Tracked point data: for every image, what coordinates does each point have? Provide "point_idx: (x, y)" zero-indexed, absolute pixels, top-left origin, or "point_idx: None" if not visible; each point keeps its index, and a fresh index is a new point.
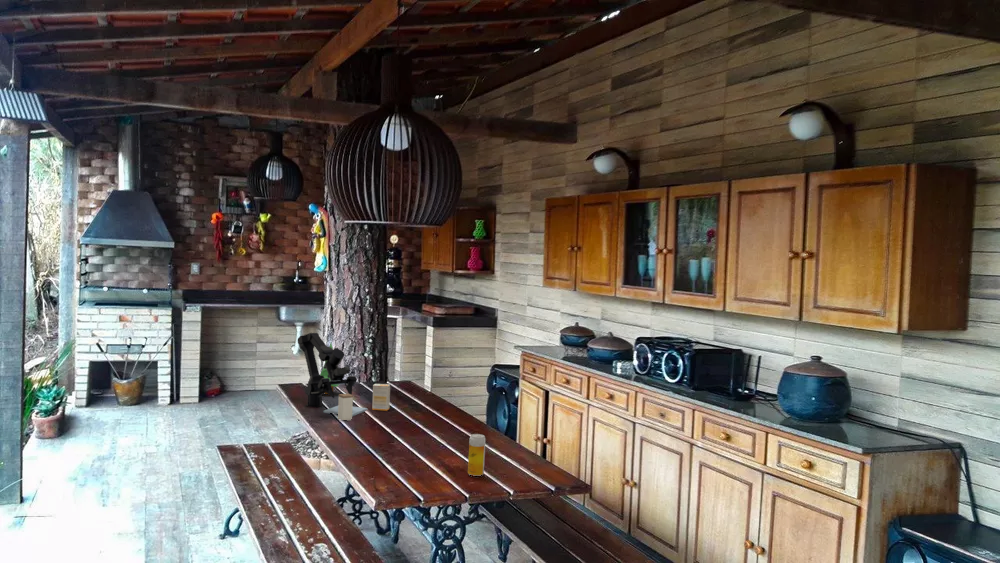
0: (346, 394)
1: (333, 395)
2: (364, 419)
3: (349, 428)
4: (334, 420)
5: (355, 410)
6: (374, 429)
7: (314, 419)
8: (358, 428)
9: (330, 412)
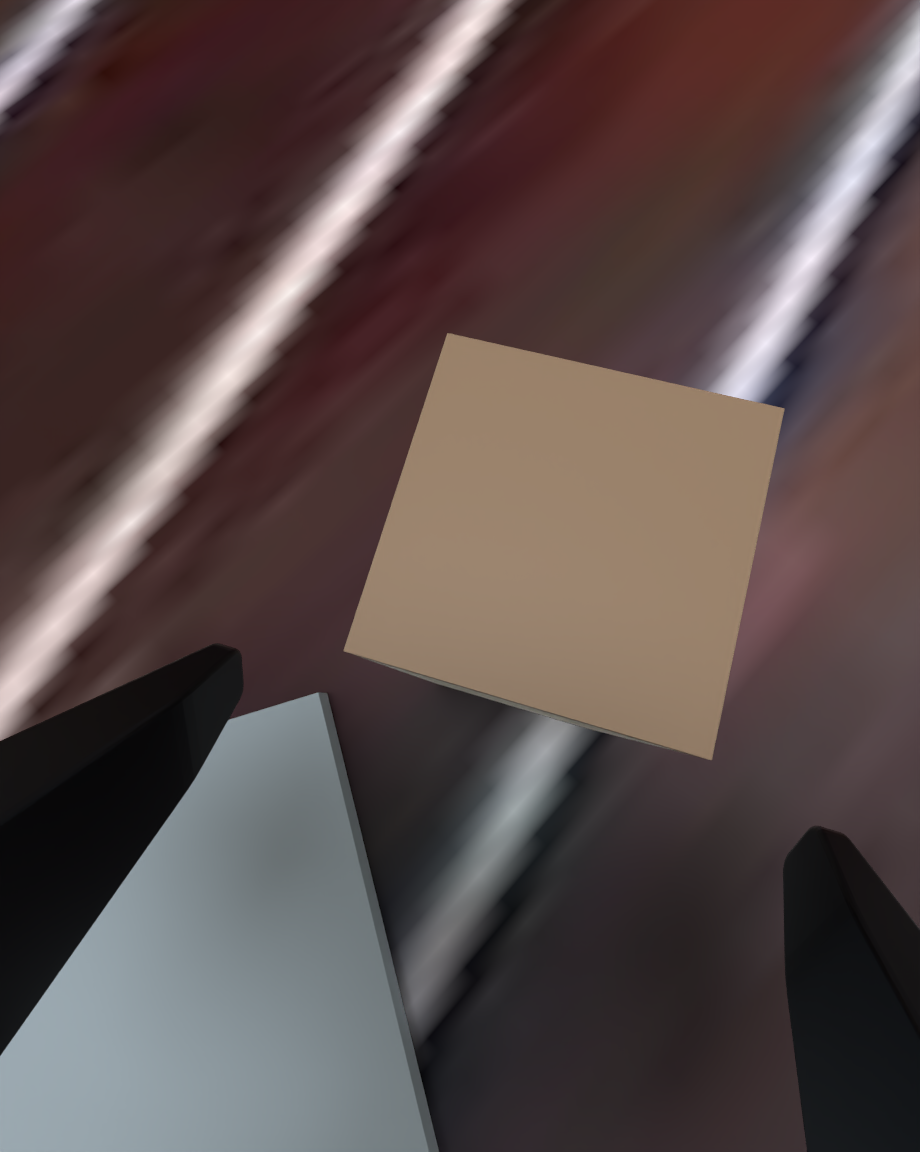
0: (515, 554)
1: (874, 872)
2: (335, 454)
3: (810, 245)
4: None
5: None
6: (608, 59)
7: None
8: (721, 185)
9: (425, 1114)
